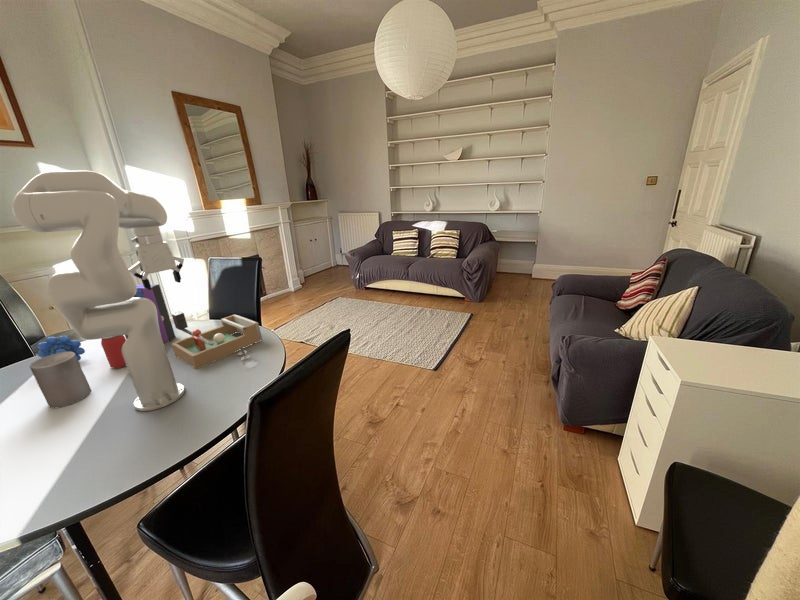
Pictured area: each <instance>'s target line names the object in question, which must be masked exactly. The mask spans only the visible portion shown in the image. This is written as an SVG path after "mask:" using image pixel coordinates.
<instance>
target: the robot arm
mask: <svg viewBox="0 0 800 600" xmlns="http://www.w3.org/2000/svg"><path fill="white" fill-rule="evenodd" d="M12 200H13V201H12V213H13V215H14V218H15V219H16V221H17V222H18V223H19V224H20V225H21V226H22V227H23V228H25V229H27V230H29V231H31V232H34V233H35V232H36V233H54V232H57V233H58V232H66V231H67V232H70V231H71V232H72V231H81V230H82V231H81V232H80V234H79V236H78V237H77V238H76V240H75V242H74V243H73V246H72V248H71V250H70V258H71V260H72V262H73V264H74V266H75V267H76V269H71V270H70V269H68V270H63V271H59V272H57V273H55V274H53V275H52V276H51V277H49V279H48V282H47V286H46V287H47V292H48V297H49V299H50V301H51V302H52V304H53V306H54V307H55V308H56V310H57V311H58V312H59V313H60V315H61V316H62V317H63V318H64V320H65V321H66V322H67V323H68V324H69V325H68V326H70V328H71V329H72V330H73V331H74V333H76V334H77V335H78V336H79V337H81V338H82V339H83V340H89V341H90V340H99V339H100V340H102V339H101V338H107V337H112V336H118V335H123V336H125V335H128V338H127V340H126V341H125V343H124V344H123V346H122V356H123V358H124V361H125V363H126V366H125V367H126V368H127V372H128V373H129V376H130V380H131V381H132V384H133V386H134V389H135V392H136V394H137V397H136V398H135V400H134V401H133V407H134V409H135V410H137V411H141V412H149V411H154V410H158V409H161V408H165V407H166V406H168V405H171V404H173V403H174V402H176V401H177V400H179V399H180V398H181V397H182V396H183V395H184V393H185V392H186V389H185V386H184V384H182V383H180V382H179V383H178V382H177V381H176V378H175V375H174V371H173V369H172V365H171V362H170V359H169V357H168V353H167V350H166V347H165V344H164V343H165V342H163V340H162V337H161V333H160V329H159V323H158V315H157V309H156V306H155V304H154V303H153V302H152V301H151V300H149V299H147V298H141V297H134V296H135V294H136V291H137V288H136V285H137V284H136V282H135V279H134V278H133V276H134V277H135V278H138V279H140V280H141V282H142V285H143V286H144V288H146V289H148V290H151V289H152V288H151V285H152V284H151V282H150V280H149V278H148V276H149V274H154V273H159V272H164V271H169V270H172V274H173V278H174V281H175V283H181V281H182V278H181V277H182V276H181V274H180V271H181V269H182V267H183V265H184V261H185V259H184V258H182V257H177V256H174V255H173V253H172V251H171V248H170V246H169V244H168V243H167V241H164V239H163V236H162V232H161V230H160V227H162V226H164V225H166V223H167V221H168V216H167V215H168V214H167V212H166V209H165V207H164V206H163V204H161V203H160V202H159V201H158V200H157V199H156V198H154V197H153V196H150V195H147V194H142V193H139V192H135V191H131V190H126V189H123V188H121V187H120V186H119V185H118V184H117V183H116V182H114V181H113V180H112V179H110V178H109V177H108V176H106V175H105V174H103V173H100V172H98V171H93V170H61V171H59V170H57V171H54V170H53V171H44V172H41V173H39V174H37V175H36V176H34V177H33V178H31V179H30V180H29V181H28V182H27V183H26V184H25V185H24V186H23V188H22V189H20V190H19V191H18V192H17V193H16V195H15V197H14V198H13V199H12ZM120 228H121V229H126V230H130V229H132V232H133V235H134V236H133V238H130V241H131V243H132V244H133V243H134V244H136V245H135V252H136V259H137V262H136V263H135V264H133V265H132V266H131V267H129V268H128V266H127V265H126V263H125V261H124V259H123V257H122V255H121V253H120V251H119V247H118V246H119V245H118V239H119V232H120V231H119V229H120ZM176 261H177V263H176ZM137 269H140V271H141V273H138V272H137ZM133 297H134V298H133Z"/></svg>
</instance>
